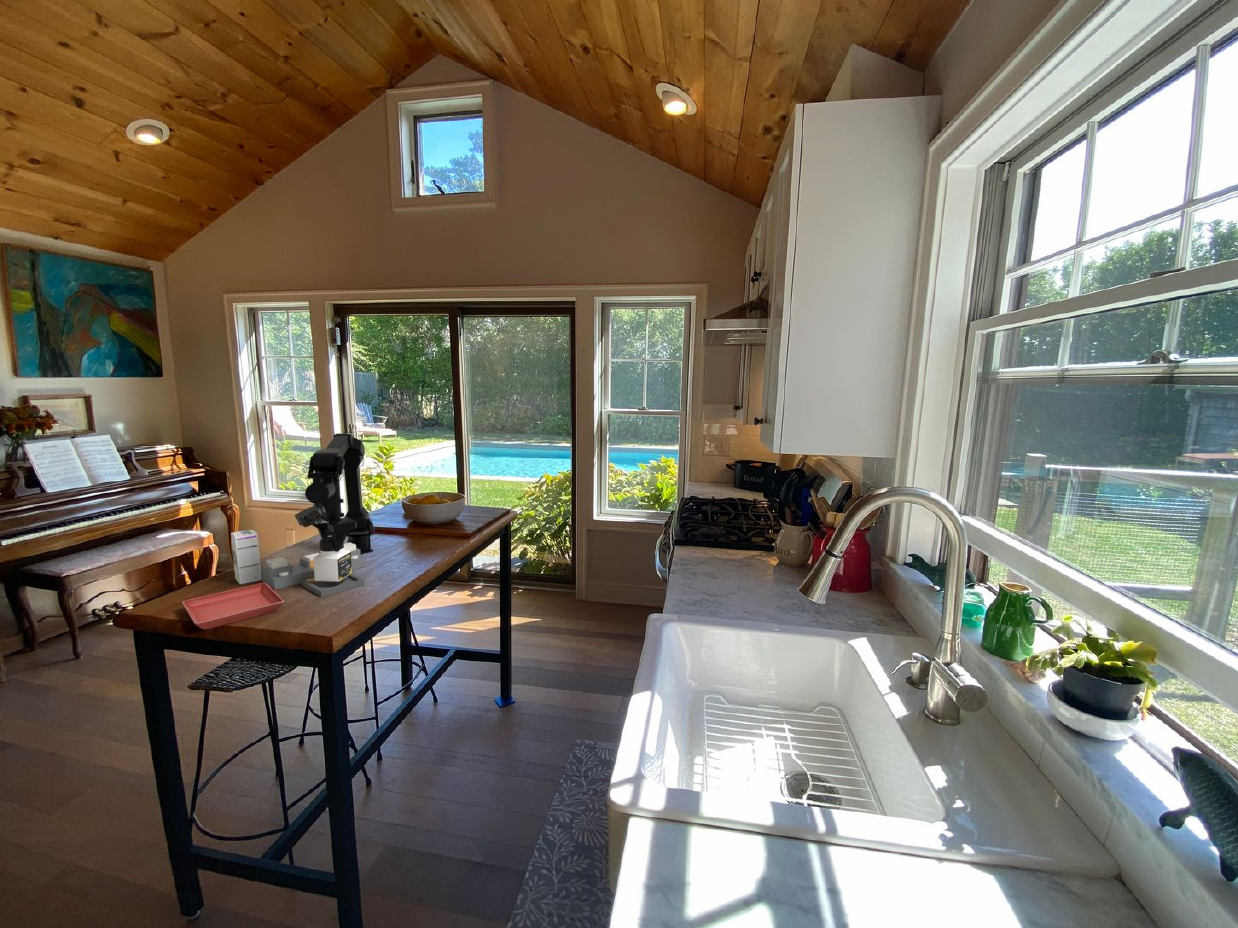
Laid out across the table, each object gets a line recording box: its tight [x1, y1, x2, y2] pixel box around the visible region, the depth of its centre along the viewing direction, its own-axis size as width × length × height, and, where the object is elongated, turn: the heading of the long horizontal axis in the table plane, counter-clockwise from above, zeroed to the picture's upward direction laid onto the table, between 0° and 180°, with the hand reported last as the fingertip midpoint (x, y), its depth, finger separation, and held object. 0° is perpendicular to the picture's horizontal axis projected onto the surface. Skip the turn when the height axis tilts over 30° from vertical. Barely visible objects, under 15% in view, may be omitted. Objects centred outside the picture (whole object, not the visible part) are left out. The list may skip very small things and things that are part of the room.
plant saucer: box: [181, 582, 285, 631], centre depth 132 cm, size 18×18×3 cm
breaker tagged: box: [303, 552, 319, 561], centre depth 160 cm, size 4×4×2 cm
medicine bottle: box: [313, 536, 353, 582], centre depth 149 cm, size 7×7×12 cm
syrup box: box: [230, 529, 263, 585], centre depth 152 cm, size 6×6×14 cm
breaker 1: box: [265, 556, 288, 569], centre depth 152 cm, size 4×4×2 cm
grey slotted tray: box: [261, 548, 367, 591], centre depth 159 cm, size 26×9×5 cm, turn 143°
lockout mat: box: [301, 573, 366, 598], centre depth 150 cm, size 12×12×2 cm
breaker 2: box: [344, 542, 356, 551], centre depth 167 cm, size 4×4×2 cm
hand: (332, 549), depth 149 cm, fingers closed on medicine bottle, 6 cm apart
